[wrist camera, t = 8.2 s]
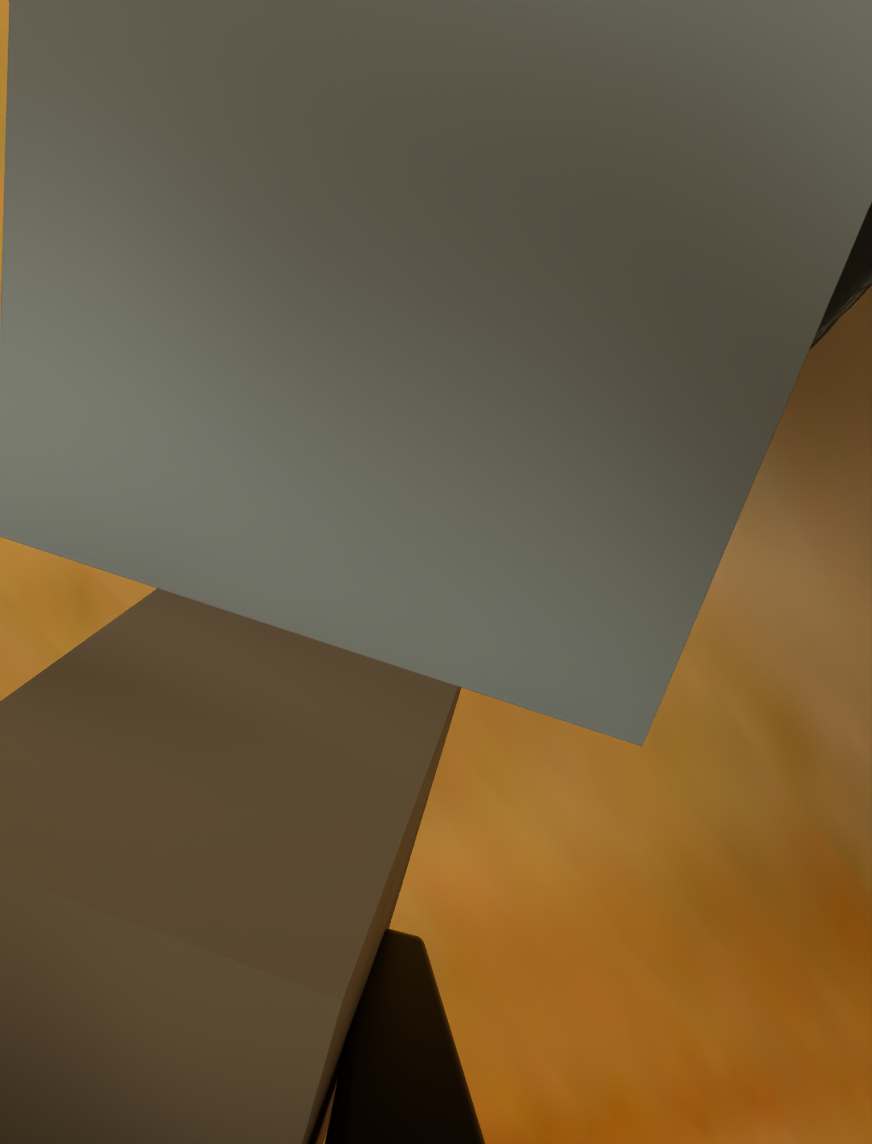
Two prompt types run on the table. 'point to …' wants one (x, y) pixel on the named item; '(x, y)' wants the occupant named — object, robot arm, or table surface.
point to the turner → (360, 468)
